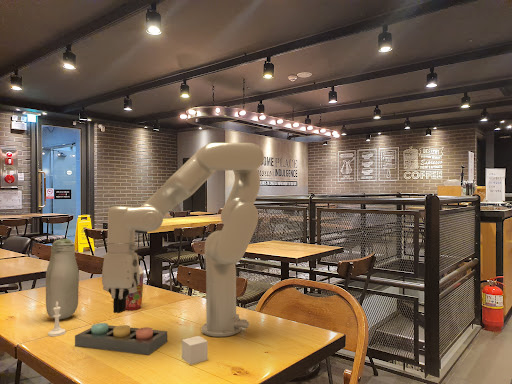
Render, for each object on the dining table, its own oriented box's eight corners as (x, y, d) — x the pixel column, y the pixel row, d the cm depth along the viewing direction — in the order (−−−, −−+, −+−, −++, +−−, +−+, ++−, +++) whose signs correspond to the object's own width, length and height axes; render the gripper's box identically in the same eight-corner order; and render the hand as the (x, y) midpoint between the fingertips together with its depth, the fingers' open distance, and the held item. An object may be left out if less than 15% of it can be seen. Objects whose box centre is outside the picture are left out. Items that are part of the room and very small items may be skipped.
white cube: (198, 354, 102) (198, 335, 103) (207, 360, 98) (207, 341, 99) (181, 358, 100) (181, 339, 100) (190, 365, 96) (190, 345, 96)
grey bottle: (62, 324, 127) (62, 241, 128) (39, 321, 131) (39, 240, 131) (84, 315, 137) (84, 238, 137) (62, 312, 140) (62, 237, 141)
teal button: (111, 332, 113) (111, 323, 113) (101, 337, 109) (101, 328, 109) (98, 331, 115) (98, 322, 115) (87, 336, 110) (87, 327, 110)
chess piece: (46, 337, 115) (46, 304, 116) (50, 331, 120) (50, 300, 120) (63, 335, 117) (63, 303, 117) (67, 330, 122) (67, 298, 122)
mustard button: (133, 334, 111) (133, 325, 111) (123, 340, 107) (123, 331, 107) (119, 333, 113) (119, 324, 113) (109, 338, 108) (109, 329, 108)
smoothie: (136, 311, 141) (136, 258, 141) (116, 310, 142) (116, 257, 142) (147, 305, 149) (147, 254, 149) (128, 304, 150) (128, 254, 151)
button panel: (167, 341, 111) (167, 331, 111) (148, 355, 102) (148, 343, 102) (98, 333, 118) (98, 324, 118) (74, 346, 108) (74, 335, 108)
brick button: (155, 337, 109) (155, 328, 109) (147, 343, 105) (147, 333, 105) (141, 335, 111) (141, 326, 111) (132, 341, 106) (132, 332, 106)
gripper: (150, 248, 112) (149, 310, 111) (107, 245, 116) (105, 306, 115) (135, 251, 104) (134, 318, 104) (90, 248, 109) (88, 313, 108)
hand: (119, 311), depth 110 cm, fingers closed
